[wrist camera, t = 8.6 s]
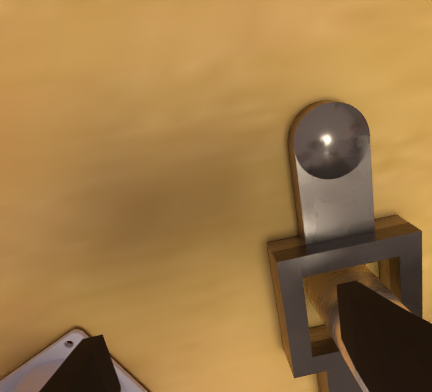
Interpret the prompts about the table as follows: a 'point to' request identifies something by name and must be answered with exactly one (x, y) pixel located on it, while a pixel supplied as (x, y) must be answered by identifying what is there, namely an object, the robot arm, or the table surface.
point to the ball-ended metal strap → (336, 235)
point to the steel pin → (328, 302)
